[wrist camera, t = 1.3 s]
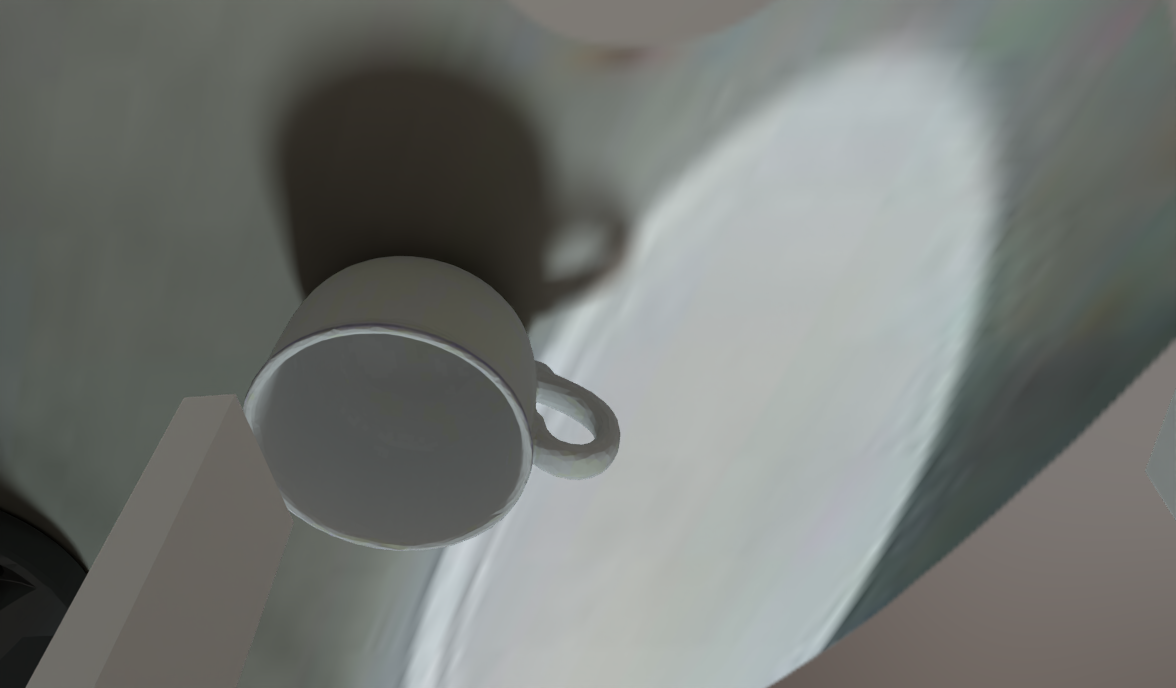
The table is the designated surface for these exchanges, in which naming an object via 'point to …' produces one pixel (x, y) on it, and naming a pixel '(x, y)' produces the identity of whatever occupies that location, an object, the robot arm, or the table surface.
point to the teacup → (413, 408)
